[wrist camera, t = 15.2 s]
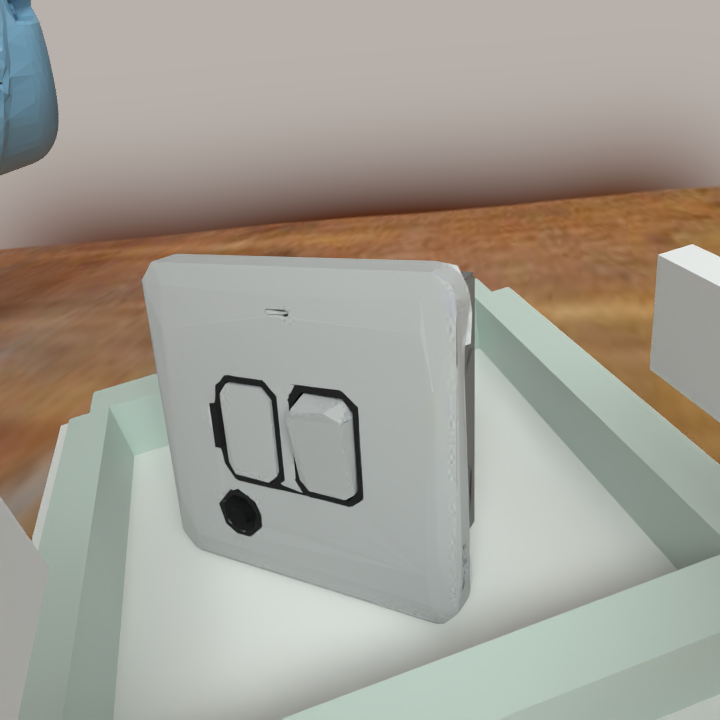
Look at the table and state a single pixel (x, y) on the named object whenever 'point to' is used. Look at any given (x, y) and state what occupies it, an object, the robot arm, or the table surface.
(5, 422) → the table surface
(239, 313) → the electrical switch
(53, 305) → the table surface
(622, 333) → the table surface
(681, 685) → the pocket tray
